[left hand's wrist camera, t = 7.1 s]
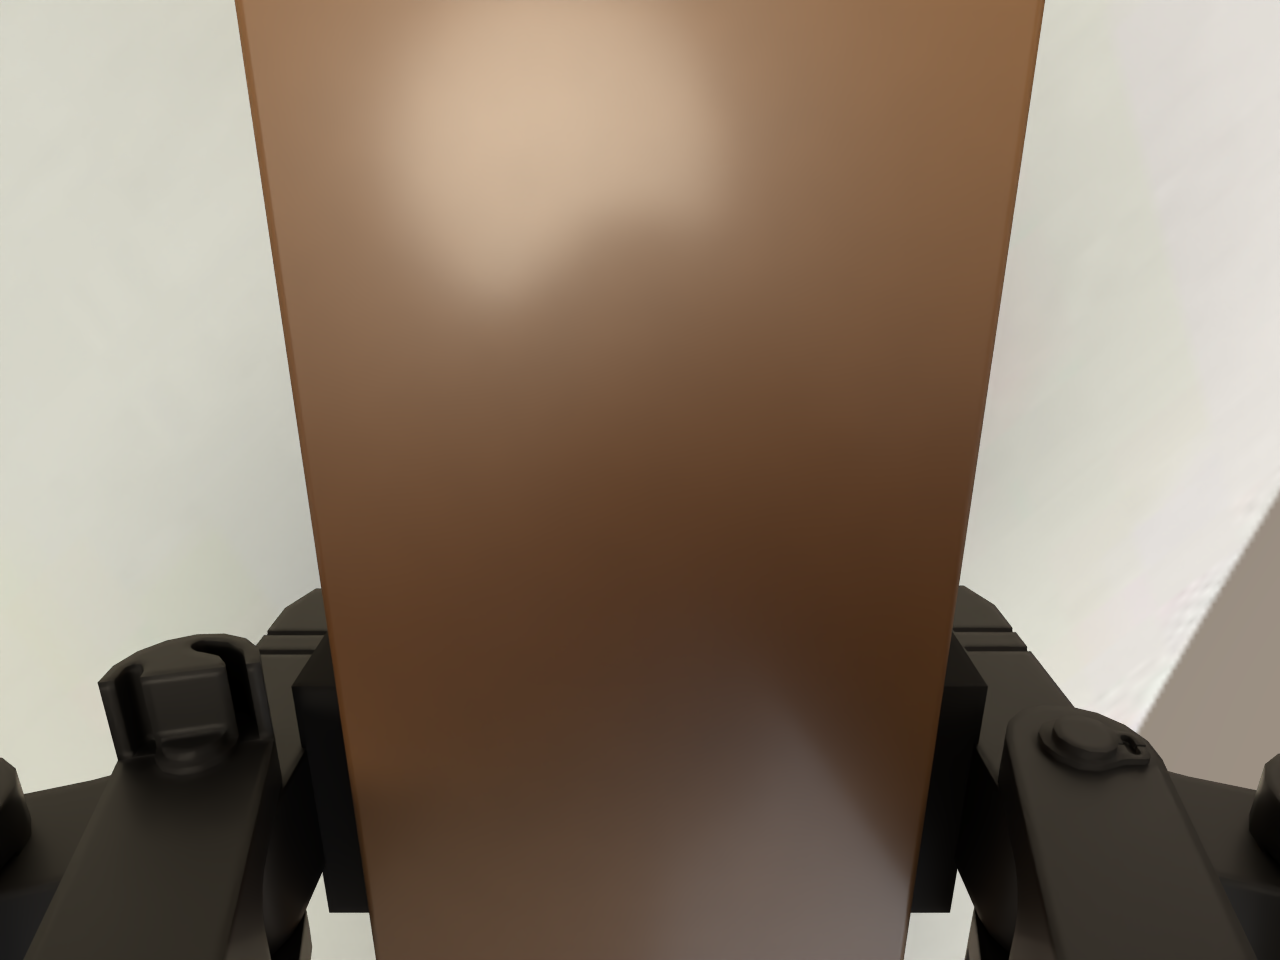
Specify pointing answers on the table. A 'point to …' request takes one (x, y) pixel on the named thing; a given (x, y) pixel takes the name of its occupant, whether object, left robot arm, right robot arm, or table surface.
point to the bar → (639, 446)
